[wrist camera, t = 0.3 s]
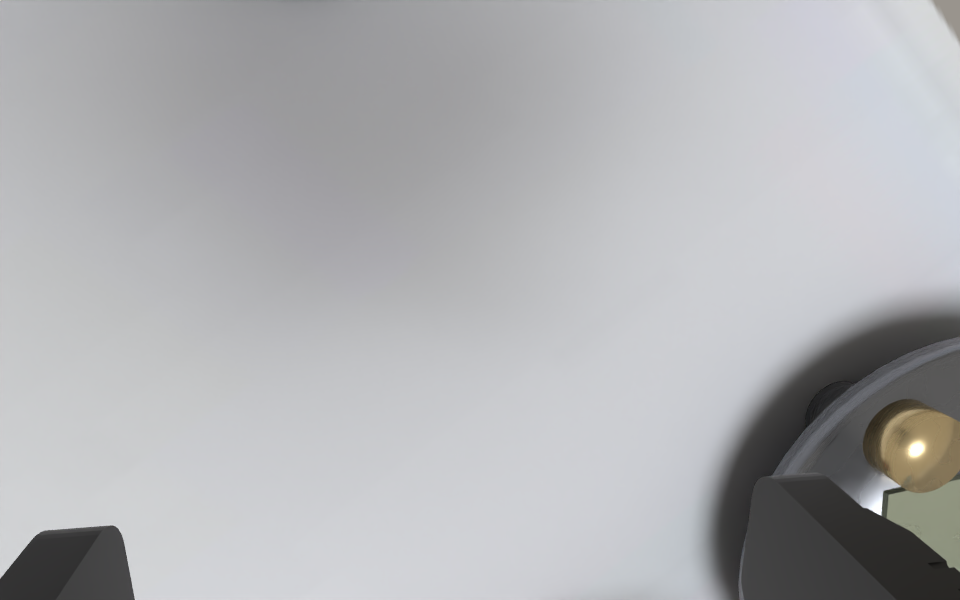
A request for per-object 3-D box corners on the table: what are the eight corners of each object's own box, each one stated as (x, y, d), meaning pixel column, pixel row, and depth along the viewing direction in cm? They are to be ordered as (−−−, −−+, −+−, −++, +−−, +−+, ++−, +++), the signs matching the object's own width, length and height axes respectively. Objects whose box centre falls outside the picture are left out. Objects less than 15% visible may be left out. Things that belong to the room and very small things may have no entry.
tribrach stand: (702, 350, 29) (788, 410, 23) (1090, 282, 32) (1253, 320, 26) (706, 702, 35) (775, 819, 29) (1033, 618, 38) (1155, 711, 32)
